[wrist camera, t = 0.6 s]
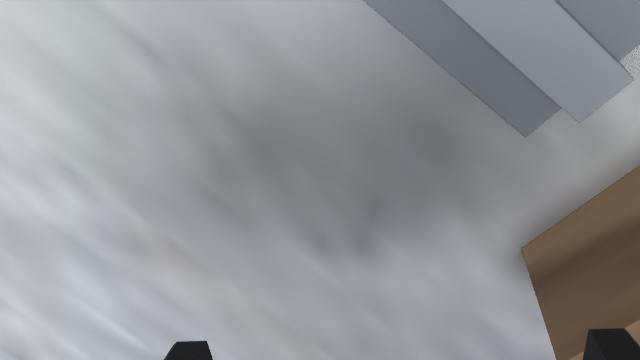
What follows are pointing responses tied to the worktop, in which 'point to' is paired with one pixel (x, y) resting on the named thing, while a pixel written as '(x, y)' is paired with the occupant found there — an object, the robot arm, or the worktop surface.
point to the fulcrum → (525, 50)
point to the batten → (590, 269)
